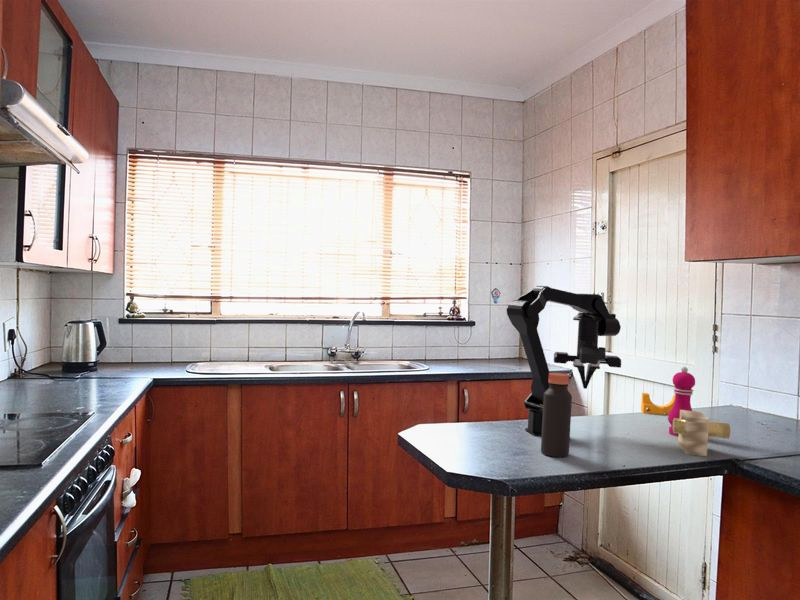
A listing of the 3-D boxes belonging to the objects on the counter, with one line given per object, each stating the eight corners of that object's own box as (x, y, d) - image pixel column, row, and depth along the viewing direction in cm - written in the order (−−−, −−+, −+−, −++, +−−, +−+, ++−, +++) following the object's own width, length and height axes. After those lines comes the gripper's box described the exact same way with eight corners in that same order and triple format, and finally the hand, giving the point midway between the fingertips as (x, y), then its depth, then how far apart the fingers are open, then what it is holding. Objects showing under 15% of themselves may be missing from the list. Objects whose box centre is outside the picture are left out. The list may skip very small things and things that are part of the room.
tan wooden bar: (674, 434, 152) (675, 419, 152) (672, 431, 156) (673, 416, 156) (729, 440, 149) (730, 425, 149) (725, 436, 152) (726, 421, 152)
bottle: (538, 449, 147) (542, 371, 147) (564, 450, 147) (569, 372, 146) (543, 457, 140) (548, 375, 140) (571, 458, 140) (576, 377, 140)
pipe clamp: (643, 413, 197) (644, 395, 197) (640, 411, 201) (642, 392, 201) (681, 417, 194) (682, 398, 194) (677, 414, 199) (679, 395, 198)
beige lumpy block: (685, 453, 149) (687, 417, 149) (678, 443, 158) (680, 409, 158) (706, 456, 147) (709, 419, 147) (697, 446, 157) (700, 411, 157)
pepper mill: (697, 435, 170) (701, 367, 169) (689, 439, 164) (694, 369, 164) (671, 429, 174) (675, 364, 174) (663, 433, 169) (667, 366, 169)
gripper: (556, 336, 164) (553, 390, 165) (625, 340, 160) (622, 396, 161) (554, 333, 175) (552, 384, 176) (619, 337, 171) (616, 389, 172)
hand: (584, 388), depth 171 cm, fingers closed
